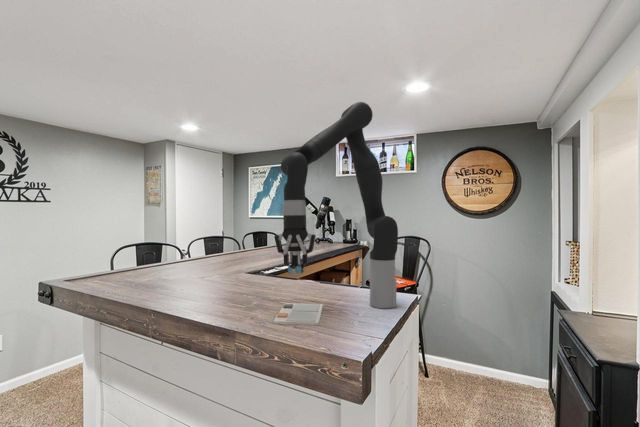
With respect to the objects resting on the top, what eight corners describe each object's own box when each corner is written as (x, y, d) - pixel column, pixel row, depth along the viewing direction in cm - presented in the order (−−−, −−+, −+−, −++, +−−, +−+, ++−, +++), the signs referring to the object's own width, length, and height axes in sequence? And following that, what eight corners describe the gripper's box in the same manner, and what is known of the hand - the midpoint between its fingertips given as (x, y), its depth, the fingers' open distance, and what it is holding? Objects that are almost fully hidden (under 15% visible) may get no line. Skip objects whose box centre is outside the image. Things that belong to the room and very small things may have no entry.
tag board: (322, 306, 114) (322, 302, 114) (318, 325, 94) (318, 320, 94) (285, 305, 115) (285, 301, 115) (273, 323, 95) (273, 319, 95)
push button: (310, 272, 103) (309, 242, 103) (302, 275, 98) (302, 243, 98) (292, 271, 106) (291, 242, 106) (284, 274, 101) (283, 243, 101)
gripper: (317, 213, 105) (318, 263, 105) (276, 214, 107) (277, 263, 107) (314, 213, 98) (315, 267, 98) (270, 214, 99) (271, 267, 99)
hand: (295, 265), depth 102 cm, fingers closed on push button, 5 cm apart
